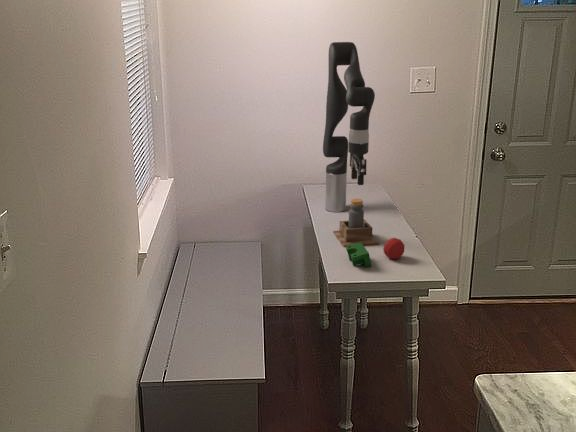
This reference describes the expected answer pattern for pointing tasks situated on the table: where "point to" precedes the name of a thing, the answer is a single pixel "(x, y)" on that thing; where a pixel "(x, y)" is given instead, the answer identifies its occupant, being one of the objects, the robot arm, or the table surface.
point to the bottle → (356, 214)
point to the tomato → (394, 248)
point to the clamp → (358, 254)
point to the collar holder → (355, 234)
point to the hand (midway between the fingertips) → (357, 181)
